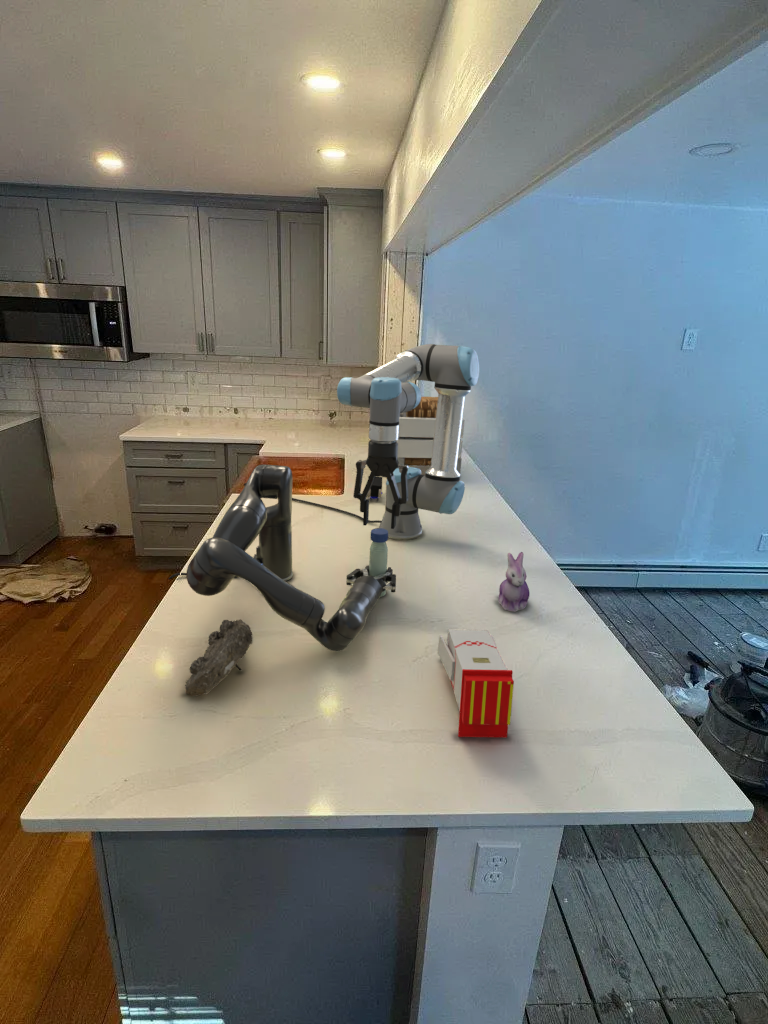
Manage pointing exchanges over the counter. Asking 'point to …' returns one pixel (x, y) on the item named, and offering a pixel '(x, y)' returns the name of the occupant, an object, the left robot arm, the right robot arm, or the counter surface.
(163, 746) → the counter surface
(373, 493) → the figurine character
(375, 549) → the bottle
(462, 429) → the white crate
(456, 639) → the toy
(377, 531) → the cap
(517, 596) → the figurine
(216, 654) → the fossil
